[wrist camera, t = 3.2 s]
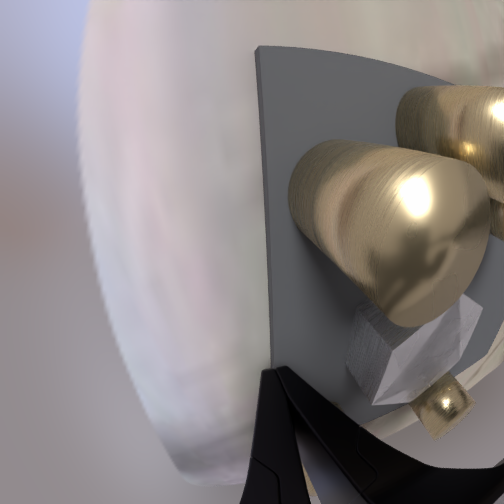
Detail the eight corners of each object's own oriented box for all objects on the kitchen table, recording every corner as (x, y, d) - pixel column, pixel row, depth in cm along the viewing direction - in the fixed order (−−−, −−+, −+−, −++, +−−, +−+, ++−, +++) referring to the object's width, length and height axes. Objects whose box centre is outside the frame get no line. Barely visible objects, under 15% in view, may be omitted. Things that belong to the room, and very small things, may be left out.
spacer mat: (537, 131, 9) (543, 133, 8) (483, 351, 16) (486, 354, 16) (254, 50, 6) (259, 45, 5) (272, 444, 13) (275, 451, 13)
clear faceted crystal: (439, 237, 9) (484, 263, 7) (449, 312, 11) (479, 339, 9) (322, 331, 9) (352, 379, 7) (360, 385, 12) (383, 421, 9)
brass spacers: (535, 135, 8) (584, 151, 5) (481, 349, 15) (510, 379, 11) (280, 63, 6) (375, 6, 2) (284, 439, 12) (306, 500, 9)
